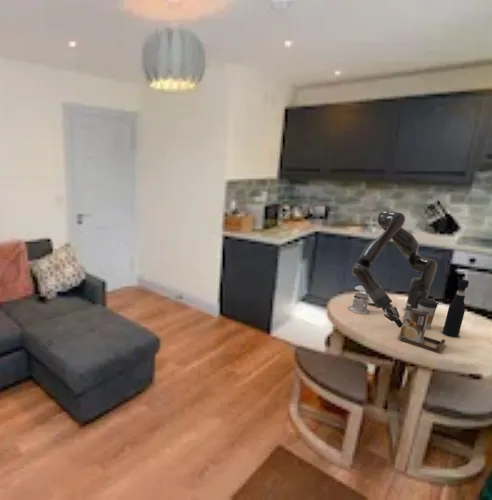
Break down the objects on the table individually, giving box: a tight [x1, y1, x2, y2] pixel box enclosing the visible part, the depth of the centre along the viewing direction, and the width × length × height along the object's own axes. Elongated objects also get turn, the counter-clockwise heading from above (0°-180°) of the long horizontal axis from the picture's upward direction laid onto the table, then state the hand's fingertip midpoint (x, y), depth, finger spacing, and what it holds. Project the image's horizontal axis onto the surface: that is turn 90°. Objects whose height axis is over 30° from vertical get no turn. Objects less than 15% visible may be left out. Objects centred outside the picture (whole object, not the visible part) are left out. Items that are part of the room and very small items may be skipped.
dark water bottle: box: [442, 278, 470, 338], centre depth 187 cm, size 6×6×30 cm
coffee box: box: [399, 307, 429, 344], centre depth 183 cm, size 9×6×16 cm
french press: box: [349, 285, 370, 315], centre depth 215 cm, size 10×12×25 cm
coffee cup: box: [418, 298, 438, 330], centre depth 198 cm, size 8×8×15 cm
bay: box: [400, 335, 446, 354], centre depth 182 cm, size 11×16×3 cm
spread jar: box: [359, 285, 382, 306], centre depth 229 cm, size 12×11×12 cm
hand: (401, 326), depth 188 cm, fingers closed
